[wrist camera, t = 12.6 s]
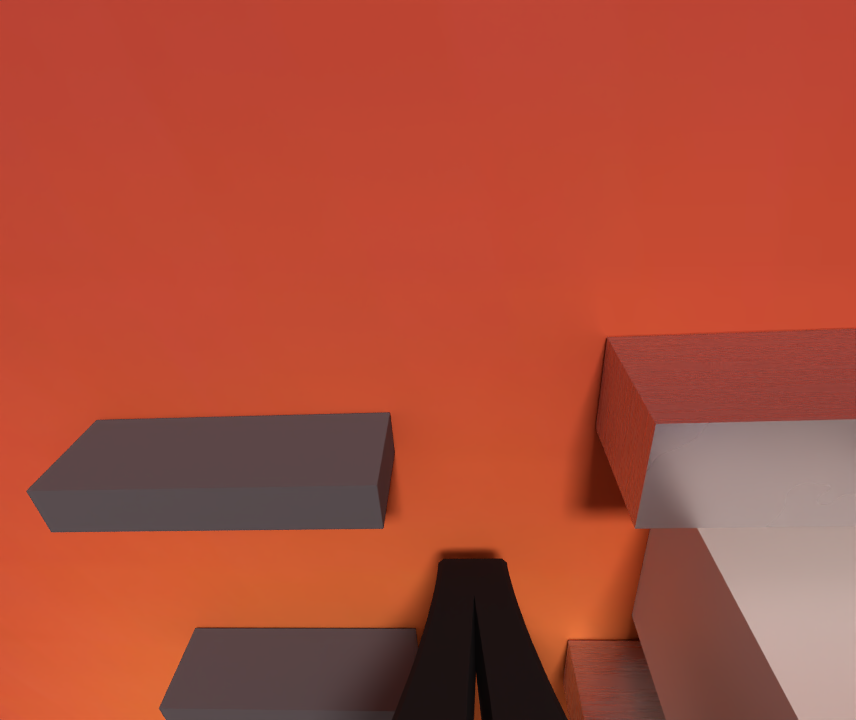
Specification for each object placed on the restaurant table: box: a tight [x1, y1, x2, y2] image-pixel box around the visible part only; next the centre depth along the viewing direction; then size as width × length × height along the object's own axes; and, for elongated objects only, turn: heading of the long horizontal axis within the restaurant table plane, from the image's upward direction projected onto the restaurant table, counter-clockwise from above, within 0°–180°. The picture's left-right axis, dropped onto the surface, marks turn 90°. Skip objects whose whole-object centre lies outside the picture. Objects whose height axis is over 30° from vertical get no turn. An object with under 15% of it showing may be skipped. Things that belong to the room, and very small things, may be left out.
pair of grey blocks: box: [27, 413, 418, 720], centre depth 11 cm, size 6×8×2 cm
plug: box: [632, 526, 856, 720], centre depth 9 cm, size 4×5×6 cm
